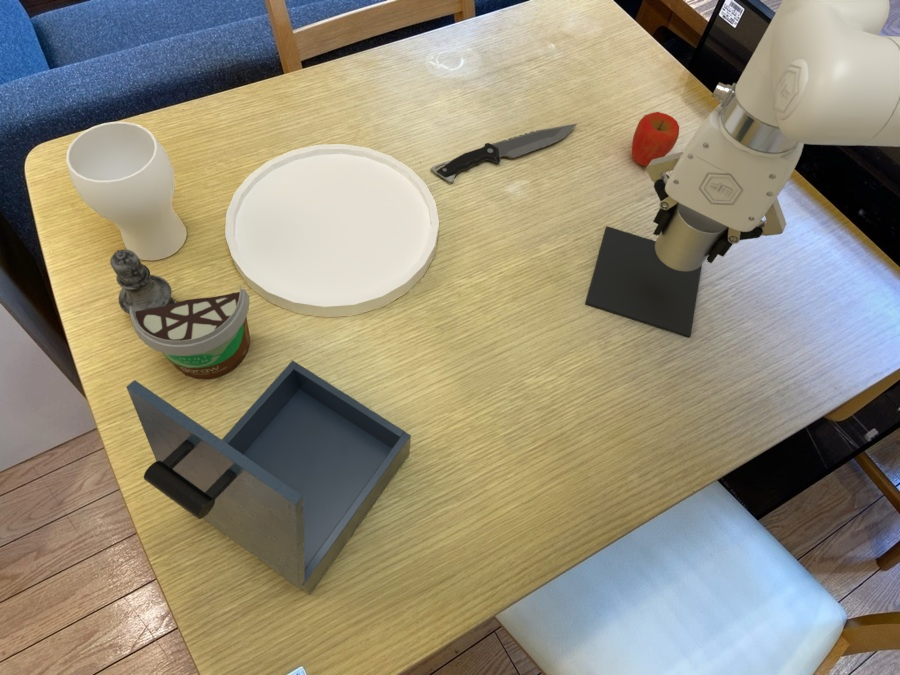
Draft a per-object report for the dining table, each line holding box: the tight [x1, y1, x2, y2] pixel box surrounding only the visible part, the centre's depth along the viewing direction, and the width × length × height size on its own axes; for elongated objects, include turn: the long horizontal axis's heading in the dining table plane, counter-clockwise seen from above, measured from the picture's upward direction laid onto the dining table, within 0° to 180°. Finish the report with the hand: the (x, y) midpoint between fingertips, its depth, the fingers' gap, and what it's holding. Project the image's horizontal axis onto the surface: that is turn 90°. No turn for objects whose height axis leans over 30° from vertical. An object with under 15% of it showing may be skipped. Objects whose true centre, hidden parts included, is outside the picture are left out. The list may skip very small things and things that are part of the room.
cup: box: [65, 121, 188, 261], centre depth 76 cm, size 11×11×15 cm
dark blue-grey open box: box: [221, 360, 412, 596], centre depth 65 cm, size 18×16×6 cm
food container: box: [129, 285, 251, 380], centre depth 69 cm, size 12×6×10 cm, turn 106°
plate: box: [224, 143, 440, 318], centre depth 84 cm, size 28×28×2 cm
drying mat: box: [584, 225, 703, 338], centre depth 85 cm, size 14×14×1 cm
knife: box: [429, 123, 578, 184], centre depth 95 cm, size 26×1×5 cm
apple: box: [631, 111, 680, 167], centre depth 94 cm, size 6×6×8 cm
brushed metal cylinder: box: [655, 203, 728, 271], centre depth 72 cm, size 6×6×7 cm
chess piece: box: [109, 248, 177, 316], centre depth 71 cm, size 6×6×12 cm
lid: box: [126, 379, 305, 589], centre depth 50 cm, size 18×16×5 cm
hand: (686, 240), depth 73 cm, fingers closed on brushed metal cylinder, 6 cm apart
